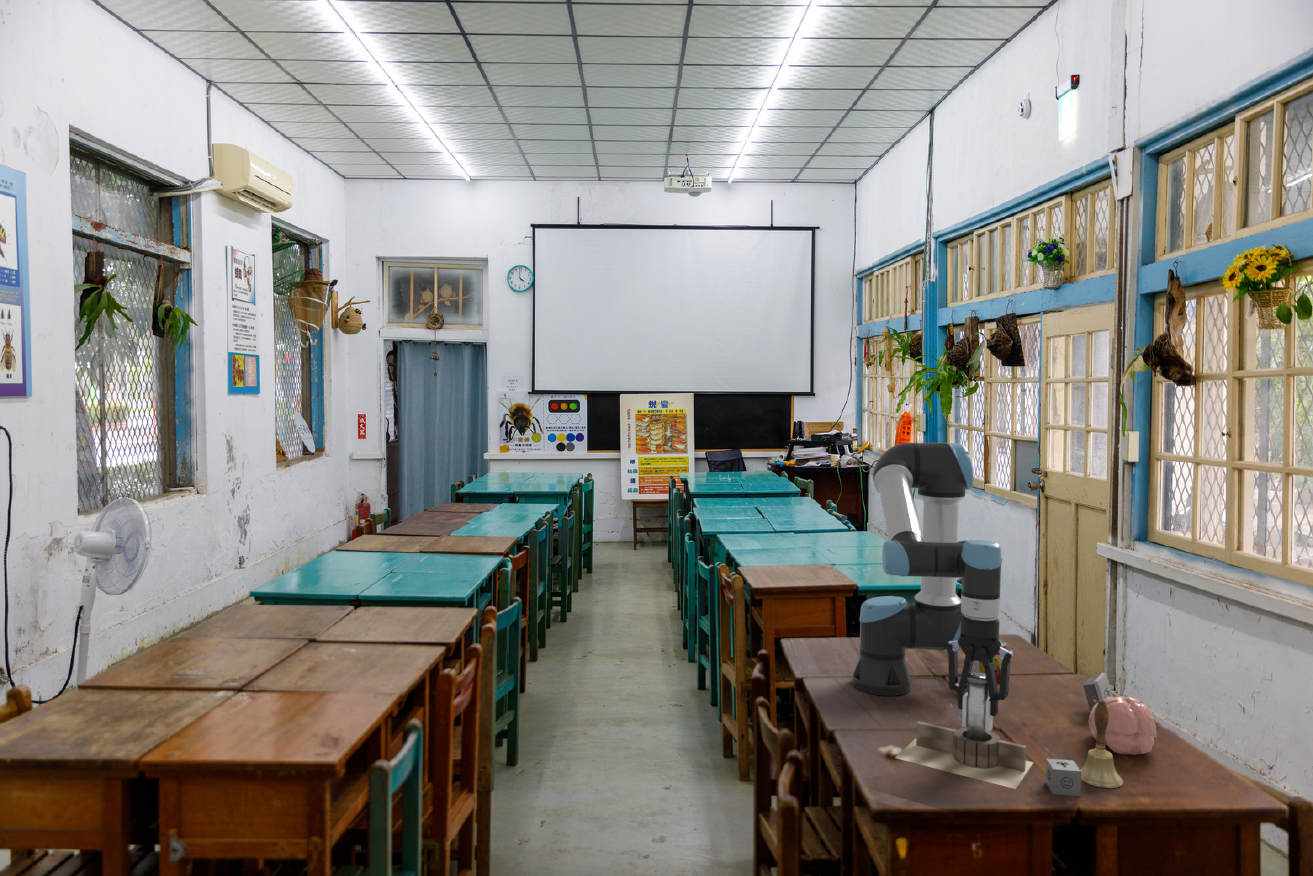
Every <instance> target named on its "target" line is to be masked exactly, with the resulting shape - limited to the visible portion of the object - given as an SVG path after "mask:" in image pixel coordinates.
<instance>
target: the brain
mask: <svg viewBox="0 0 1313 876" xmlns="http://www.w3.org/2000/svg"><path fill="white" fill-rule="evenodd" d="M1103 701H1105V702H1106V706H1107V709H1108V713H1109V722H1108V726H1107V729H1106V732H1105V746H1107V747H1108V748H1109V749H1110V750H1112V752H1113V753H1117V754H1119V755H1130V756H1136V755H1144V754H1148V753H1150V752H1151V751H1152V749H1153V748H1152V747H1153V746H1154V743H1155V738H1157V737H1158V734H1157V726H1156V723H1155V719H1154V717H1155V714H1154V712H1153V711H1152V710H1151V708H1150V707H1149V706H1147V705H1146V704H1145V703H1142V702H1141V701H1139V700H1138V699H1136V698H1134V697H1132V696H1129V697H1128V696H1126V695H1125V696H1124V695H1123V696H1113V697H1107V698H1105V699H1103ZM1097 705H1098V703H1097V704H1095V706H1094V707H1093V709H1092V711H1091V712H1090V711H1089V716H1088V726H1089V729H1090V730H1091V736H1092V738H1094V739H1095V740H1096V737H1097V729H1096V725H1095V720H1094V715H1095V709H1096V707H1097Z"/></svg>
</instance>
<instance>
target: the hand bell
mask: <svg viewBox="0 0 1313 876" xmlns="http://www.w3.org/2000/svg"><path fill="white" fill-rule="evenodd" d="M1094 720H1095V725H1096V729H1097V737H1096V739H1095V748H1092V749H1091V748H1090V749H1089V750H1088V752H1087V757H1086V761H1085V764H1084V765H1083V767H1082V768H1081V769H1080V770H1081V782H1083V783H1085V784H1087V785H1091V786H1094V787H1096V788H1097V787H1099V788H1103V789H1104V788H1105V789H1116V788H1119V787H1122V786H1123V785H1124V780H1123V779H1122V777H1121V776H1120V775H1119V774H1118V773H1117V770H1116V768H1115V765H1114V764H1115V763H1114V756H1113V754H1112V753H1111V752H1110V751H1108V750H1106V745H1105V732H1106V729H1107V726H1108V722H1109V713H1108V709H1107V706H1106V702H1105V701H1103V700H1099V701H1098V705H1097V707H1096V709H1095V715H1094Z"/></svg>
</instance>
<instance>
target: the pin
mask: <svg viewBox="0 0 1313 876" xmlns="http://www.w3.org/2000/svg"><path fill="white" fill-rule="evenodd" d="M966 681H967V682H968V686H967V692H968V704H967V726H966V727H967V738H968V739H970V740H974V741H987V732H985V718H986V700H987V699H988V698H989V691H988V680H986V674H984V673H977V672H974V671H973V672H972V671H971V673H970V674H969V675H968V676H966Z"/></svg>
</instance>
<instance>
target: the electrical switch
mask: <svg viewBox="0 0 1313 876" xmlns="http://www.w3.org/2000/svg"><path fill="white" fill-rule="evenodd" d="M1109 681H1110V680H1109V677H1108V675H1107V673H1106V672H1101V673H1100V675H1097V676H1090V677H1088V678H1087V680H1086V681H1085V682H1084V683H1083V686H1082V687H1083V690H1084V694H1085V697H1086V701H1087V705H1088V709H1089V713H1090V712H1091V711H1092V709H1093V707H1094V706H1095V705H1096V704H1097V703H1098V701H1099V700H1103V699H1105V698H1107V697H1114V696H1113V691H1112V688H1111V684H1110V682H1109Z"/></svg>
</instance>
